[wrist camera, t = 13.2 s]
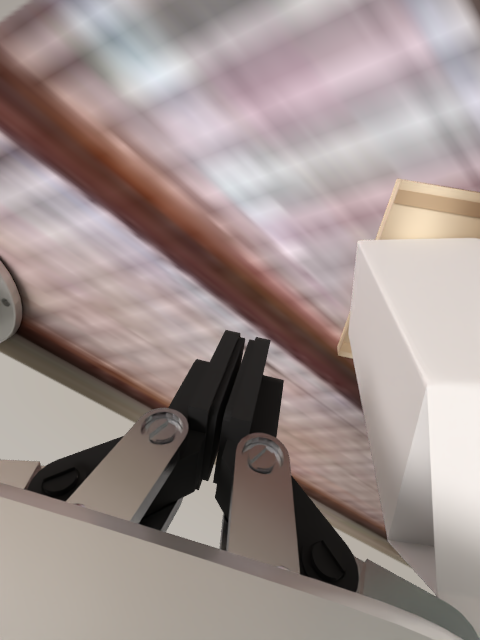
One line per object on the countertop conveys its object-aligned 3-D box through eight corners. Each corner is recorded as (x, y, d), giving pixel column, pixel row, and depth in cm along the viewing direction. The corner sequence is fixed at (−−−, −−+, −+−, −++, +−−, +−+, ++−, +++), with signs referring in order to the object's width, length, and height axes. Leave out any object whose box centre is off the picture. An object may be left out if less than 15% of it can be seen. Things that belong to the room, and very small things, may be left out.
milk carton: (451, 336, 23) (809, 819, 6) (347, 332, 24) (419, 715, 8) (478, 236, 19) (1363, 700, 3) (356, 239, 21) (514, 561, 5)
